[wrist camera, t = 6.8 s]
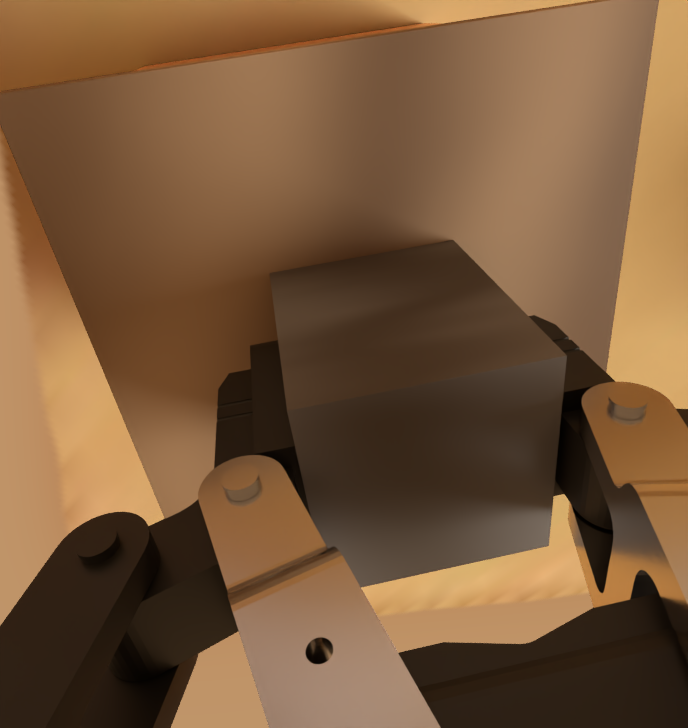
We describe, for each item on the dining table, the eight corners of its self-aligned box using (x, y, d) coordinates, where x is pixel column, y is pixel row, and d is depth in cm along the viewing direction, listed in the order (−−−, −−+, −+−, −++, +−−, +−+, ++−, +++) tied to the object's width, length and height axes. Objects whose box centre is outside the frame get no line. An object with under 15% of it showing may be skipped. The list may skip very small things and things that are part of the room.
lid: (634, -6, 11) (947, -25, 6) (577, 458, 17) (710, 629, 13) (3, 90, 10) (-207, 156, 5) (185, 540, 17) (164, 758, 12)
